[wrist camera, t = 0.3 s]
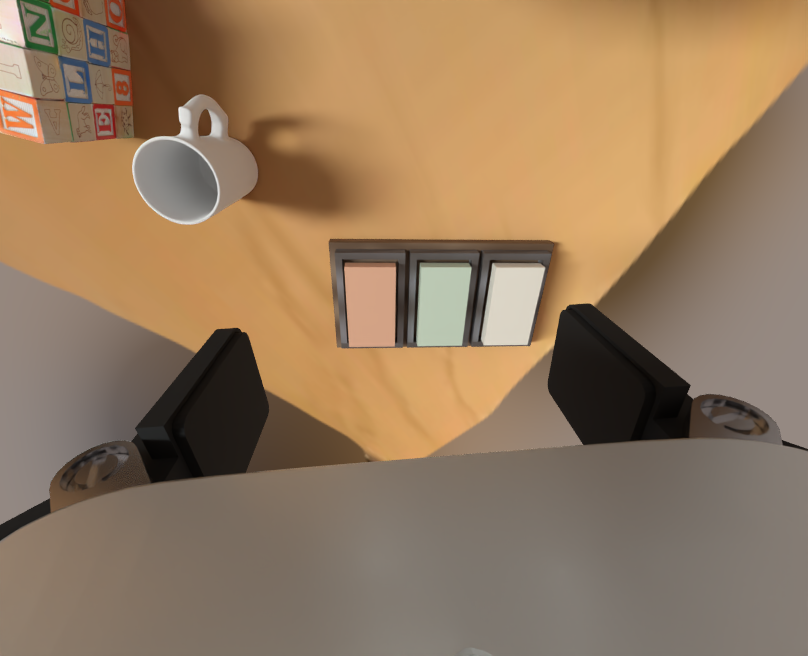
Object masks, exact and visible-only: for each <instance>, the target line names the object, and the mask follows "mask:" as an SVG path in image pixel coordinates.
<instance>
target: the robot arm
mask: <svg viewBox="0 0 808 656" xmlns="http://www.w3.org/2000/svg"><path fill="white" fill-rule="evenodd" d="M689 388H690V384H688V383H687V382H686V381H685V380H683V379H682V378H681V377H680V376H678V375H677V374H676V373H675V372H674V371H672V370H671V369H670V368H669V367H668V366H666V365H665V364H664V363H663V362H661V361H660V360H659V359H658V358H656V357H655V356H654V355H653V354H652V353H650V352H649V351H648V350H647V349H645V348H644V347H643V346H642V345H641V344H639V343H638V342H637V341H636V340H634V339H633V338H632V337H631V336H629V335H628V334H627V333H626V332H625V331H623V330H622V329H621V328H620V327H618V326H617V325H616V324H615V323H613V322H612V321H611V320H610V319H609V318H607V317H606V316H605V315H604V314H602V313H601V312H600V311H599V310H598V309H596V308H595V307H594V306H593V305H591V304H575V305H569V306H567V308H566V310H563V311H562V312H561V314H560V318H559V324H558V329H557V334H556V340H555V345H554V351H553V356H552V362H551V368H550V373H549V378H548V389H549V393H550V394H551V396H552V397H553V399H554V401H555V402H556V404H557V405H558V407H559V408H560V410H561V411H562V413H563V414H564V416H565V417H566V419H567V421H568V422H569V424H570V425H571V427H572V428H573V430H574V431H575V433H576V434H577V436H578V437H579V439H580V440H581V442H582V444H583V445H576V446H563V447H551V448H537V449H525V450H513V451H501V452H488V453H476V454H464V455H452V456H440V457H427V458H415V459H403V460H391V461H378V462H366V463H354V464H342V465H329V466H319V467H306V468H295V469H284V470H273V471H261V472H249V473H246V470H247V468H248V465H249V462H250V460H251V457H252V455H253V452H254V450H255V447H256V444H257V442H258V439H259V437H260V434H261V432H262V429H263V427H264V424H265V422H266V419H267V416H268V413H269V405H268V401H267V397H266V394H265V390H264V387H263V384H262V380H261V377H260V374H259V370H258V367H257V364H256V360H255V357H254V353H253V350H252V347H251V343H250V340H249V337H248V335H247V333H245V332H241V330H240V329H239V328H229V329H217V330H216V331H215V332H214V333H213V334H212V335H211V337H210V338H209V339H208V340H207V341H206V343H205V344H204V345H203V346H202V347H201V349H200V350H199V351H198V352H197V354H196V355H195V356H194V357H193V358H192V360H191V361H190V362H189V363H188V365H187V366H186V367H185V368H184V369H183V371H182V372H181V373H180V374H179V375H178V377H177V378H176V379H175V380H174V382H173V383H172V384H171V385H170V386H169V388H168V389H167V390H166V391H165V393H164V394H163V395H162V397H160V399H159V400H158V401H157V402H156V404H155V405H154V406H153V407H152V408H151V410H150V411H149V412H148V413H147V414H146V416H145V417H144V418H143V419H142V420H141V422H140V423H139V424H138V425H137V427H136V428H135V429H136V431H137V433H138V434H137V435H136V436H135V438H134V439H133V440H132V441H131V442H130V441H126V440H117V441H111V442H107V443H103V444H100V445H97V446H95V447H92V448H90V449H88V450H86V451H84V452H83V453H81V454H79V455H77V456H76V457H74V458H73V459H72V460H70V461H69V462H67V463H66V464H65V465H64V466H63V467H62V468H61V469H60V470H59V471H58V472H57V473H56V475H55V476H54V477H53V479H52V481H51V483H50V488H49V494H50V499H48V500H46V501H44V502H42V503H41V504H38V505H37V506H35V507H33V508H31V509H29V510H27V511H25V512H24V513H22V514H20V515H18V516H16V517H14V518H12V519H11V520H9V521H7V522H5V523H3V524H1V525H0V656H808V449H806V448H803V447H800V446H797V445H794V444H791V443H789V442H786V441H783V440H782V439H781V434H780V429H779V427H778V426H777V424H776V422H775V421H774V420H773V419H772V418H771V417H770V416H769V415H768V414H766V413H765V412H763V411H762V410H760V409H759V408H757V407H755V406H753V405H751V404H749V403H747V402H744V401H741V400H738V399H736V398H732V397H728V396H723V395H716V394H706V395H700V396H698V397H696V398H694V400H693V399H692V398H691V397H690V396H689V395H688V394H687V393H688V390H689Z"/></svg>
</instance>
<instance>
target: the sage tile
mask: <svg viewBox="0 0 808 656" xmlns="http://www.w3.org/2000/svg"><path fill="white" fill-rule="evenodd" d="M471 268H472V267H471V266H470V264H469V263H420V274H419V294H418V315H417V336H416V341H417V346H462V341H463V333H464V325H465V317H466V309H467V301H468V293H469V284H470V276H471Z"/></svg>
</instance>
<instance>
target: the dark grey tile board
mask: <svg viewBox="0 0 808 656" xmlns="http://www.w3.org/2000/svg"><path fill="white" fill-rule="evenodd" d="M553 247H554V243H552V242H551V241H548V240H402V239H330V241H329V252H330V265H331V277H332V289H333V302H334V314H335V327H336V339H337V347H342V348H403V347H467V346H471V347H482V346H530V345H531V341H532V337H533V332H534V328H535V324H536V319H537V315H538V311H539V307H540V302H541V298H542V294H543V290H544V285H545V281H546V277H547V273H548V268H549V264H550V260H551V255H552V251H553ZM345 263H395V264H396V298H395V347H349V336H348V320H347V304H346V287H345V271H344V266H345ZM420 263H469V264H470V266H471V267H472V268H471V276H470V284H469V293H468V301H467V309H466V317H465V325H464V333H463V341H462V346H417V341H416V336H417V315H418V294H419V274H420ZM493 263H540V264H542V265H543V266H544V267H545V271H544V275H543V279H542V284H541V288H540V292H539V297H538V301H537V306H536V310H535V314H534V319H533V323H532V327H531V332H530V336H529V340H528V345H484V344H483V342H482V340H481V336H482V330H483V323H484V317H485V310H486V303H487V297H488V290H489V284H490V277H491V271H492V264H493Z"/></svg>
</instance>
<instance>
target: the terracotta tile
mask: <svg viewBox="0 0 808 656" xmlns="http://www.w3.org/2000/svg"><path fill="white" fill-rule="evenodd" d="M344 271H345V287H346V304H347V320H348V336H349V347H395V298H396V264H395V263H345V266H344Z"/></svg>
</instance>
